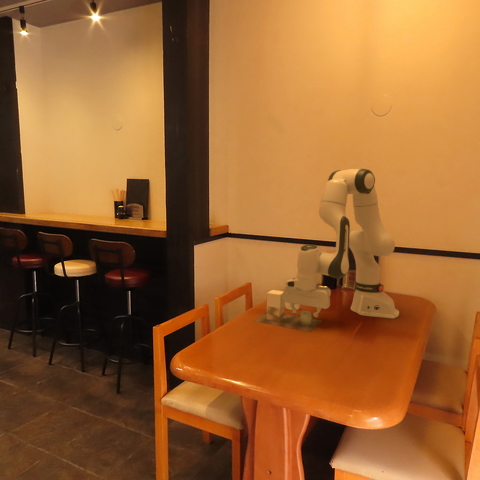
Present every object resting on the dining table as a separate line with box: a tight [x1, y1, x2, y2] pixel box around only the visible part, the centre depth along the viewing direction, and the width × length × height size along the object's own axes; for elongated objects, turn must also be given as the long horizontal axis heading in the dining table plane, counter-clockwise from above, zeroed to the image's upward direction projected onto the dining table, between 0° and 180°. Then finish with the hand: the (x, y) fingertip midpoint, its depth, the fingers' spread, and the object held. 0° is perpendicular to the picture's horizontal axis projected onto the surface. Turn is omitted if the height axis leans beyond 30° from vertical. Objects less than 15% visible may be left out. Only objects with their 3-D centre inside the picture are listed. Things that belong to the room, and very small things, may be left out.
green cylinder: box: [299, 310, 313, 326], centre depth 178 cm, size 5×5×5 cm
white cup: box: [285, 302, 301, 311], centre depth 200 cm, size 8×8×10 cm
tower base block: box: [266, 305, 286, 322], centre depth 184 cm, size 6×6×6 cm
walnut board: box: [253, 311, 323, 333], centre depth 182 cm, size 26×16×2 cm, turn 63°
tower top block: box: [266, 289, 285, 308], centre depth 183 cm, size 6×6×6 cm
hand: (304, 315), depth 178 cm, fingers open, 8 cm apart
